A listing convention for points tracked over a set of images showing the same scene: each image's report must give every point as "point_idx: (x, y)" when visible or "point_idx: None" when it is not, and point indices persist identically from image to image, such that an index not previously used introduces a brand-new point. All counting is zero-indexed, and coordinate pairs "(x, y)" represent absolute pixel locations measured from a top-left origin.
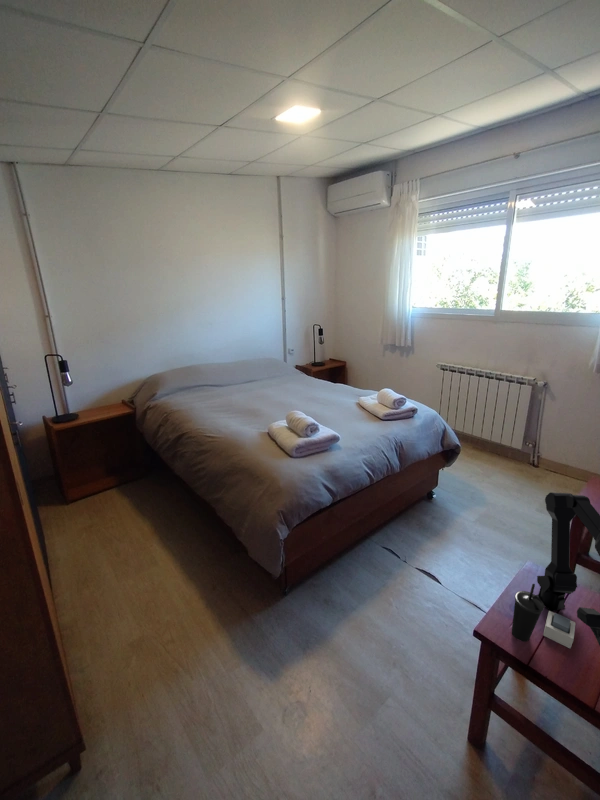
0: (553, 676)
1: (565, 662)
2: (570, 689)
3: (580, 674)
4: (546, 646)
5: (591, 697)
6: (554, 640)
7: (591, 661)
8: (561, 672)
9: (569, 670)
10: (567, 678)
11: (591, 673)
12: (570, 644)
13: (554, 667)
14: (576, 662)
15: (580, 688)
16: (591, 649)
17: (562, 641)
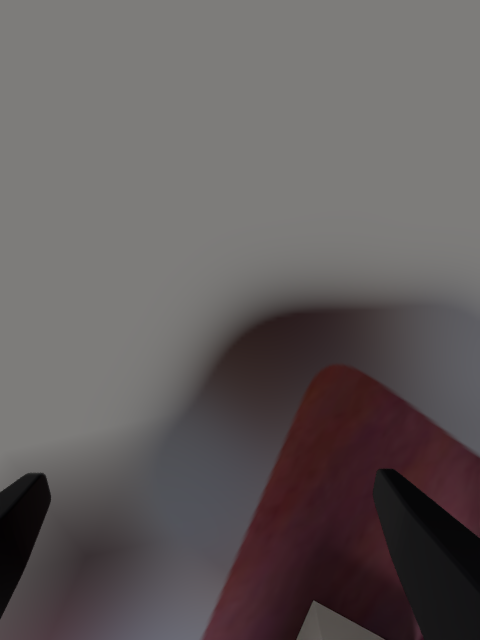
0: (434, 438)
1: (361, 519)
2: (384, 395)
3: (319, 473)
4: None
5: (316, 380)
6: (373, 635)
7: (246, 549)
8: (394, 465)
9: (358, 482)
10: (379, 442)
11: (272, 488)
12: (322, 621)
13: (416, 483)
14: (313, 530)
15: (344, 409)
16: (219, 617)
17: (350, 633)
